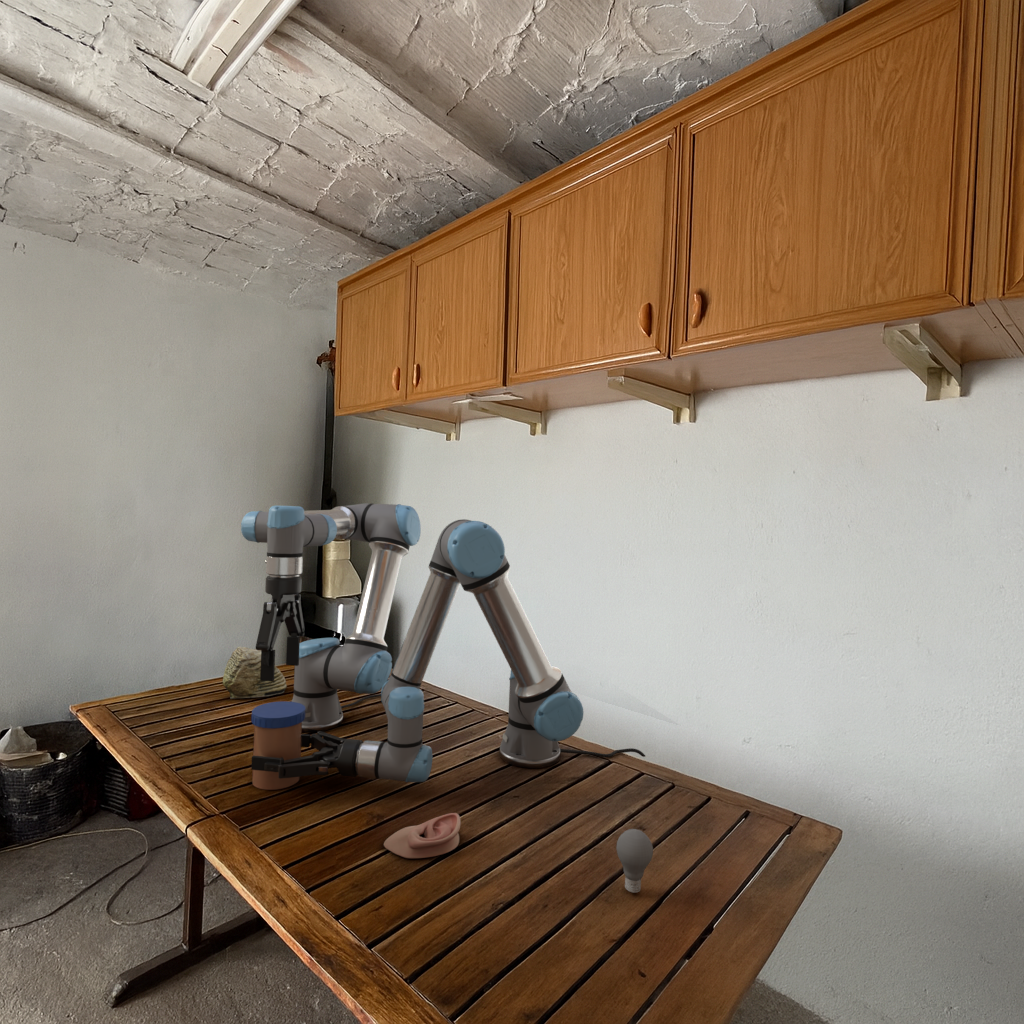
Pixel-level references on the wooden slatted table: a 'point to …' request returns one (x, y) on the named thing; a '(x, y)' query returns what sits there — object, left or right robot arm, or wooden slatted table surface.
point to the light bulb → (634, 857)
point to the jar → (276, 753)
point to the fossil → (250, 676)
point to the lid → (278, 714)
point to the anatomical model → (426, 838)
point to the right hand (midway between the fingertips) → (268, 750)
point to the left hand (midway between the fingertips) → (280, 672)
